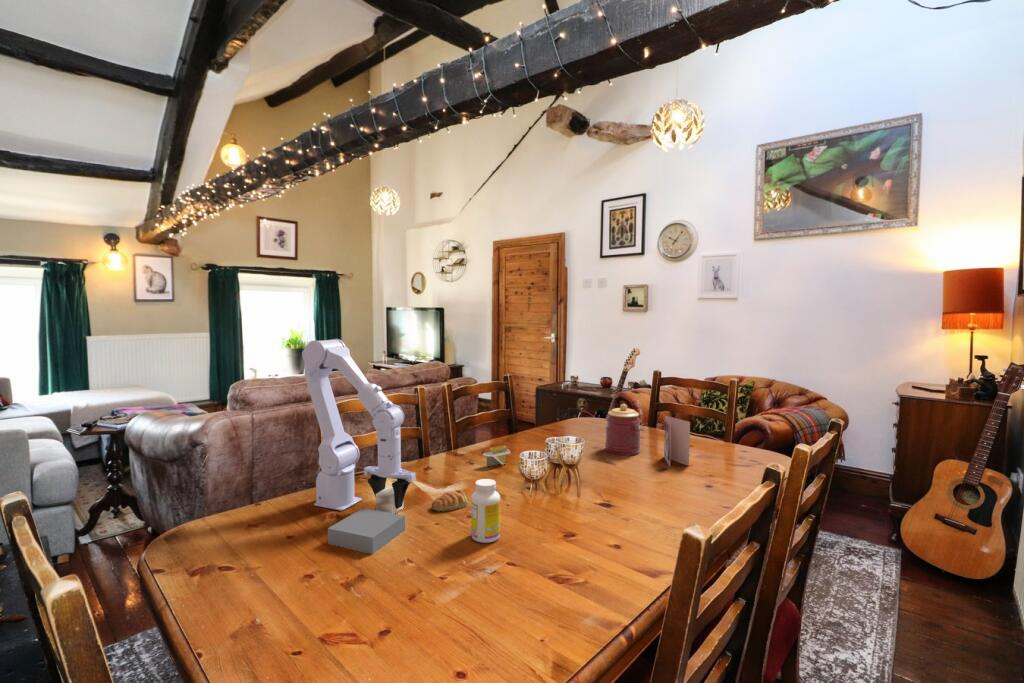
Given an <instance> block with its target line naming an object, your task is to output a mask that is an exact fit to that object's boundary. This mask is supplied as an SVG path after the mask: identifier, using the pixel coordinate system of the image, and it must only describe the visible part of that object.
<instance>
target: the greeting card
mask: <svg viewBox="0 0 1024 683" xmlns="http://www.w3.org/2000/svg"><path fill="white" fill-rule="evenodd" d="M662 421H663V423H664V424H663V425H664V439H663V440H664V441H663V442H664V446H663V447H664V448H663V450H664V451H663V458H664V460H665V461H666V463H667V464H668V467H671V460H672V461H675V462H677V463H680V464H682V465H685V466H688V467H689V466H690V443H691V442H690V441H691V436H690V435H691V422H690V421H688V420H684V419H680V418H677V417H672V416H669V415H665V416H664V420H662Z"/></svg>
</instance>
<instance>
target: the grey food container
mask: <svg viewBox="0 0 1024 683" xmlns="http://www.w3.org/2000/svg"><path fill="white" fill-rule="evenodd" d="M510 453H511V450H510V449H509V448H508V446H506V445H499V446H495V447H490V450H489V451H487V452H483V453H482V456H484V457H486V468H489V467H488V466H490V467H493V466H492V465H495V466H497V465H496V464H499V465H503V464H505V463H504V462H506V463H507V455H509V454H510Z"/></svg>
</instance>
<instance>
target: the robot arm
mask: <svg viewBox="0 0 1024 683" xmlns="http://www.w3.org/2000/svg"><path fill="white" fill-rule="evenodd" d="M301 355H302V359H303V363H304V378H305V381H306V385H307V389H308V392H309V395H310V399H311V401H312V405H313V408H314V412H315V415H316V419H317V422H318V426H319V429H320V432H321V436H322V438H323V439H322V441H321V443H320V444H319V446H318V448H317V450H318V454H319V455H318V457H319V458H318V463H319V465H318V466H319V467H320V469H321V470H320V472H319V473H318V474H317V476H316V481H315V490H316V491H315V492H316V499H315V500H316V502H315V503H314V506H316V507H321V508H326V509H331V510H337V511H340V512H341V511H344V510H346V509H348V508H350V507H352V506H353V505H356V504H358V502H359V503H360V501H362V500H363V499H362V498H363V497H357V496H355V495H356V494H355V468H356V463H358V461H359V459H360V457H361V456H360V455H361V453H360V449H359V447H358V445H356V443H355V442H354V439H353V436H351V435H349V434H348V433H347V432H345V429H344V426H343V423H342V419H341V416H340V411H339V409H338V406H337V402H336V399H335V396H334V393H333V390H332V388H333V387H332V385H331V381H330V379H329V376H330V375H331V373H332V370H333V369H335V370H338V371H339V372H340V373H341V374H342V376H344V377H345V379H346V380H348V382H349V383H350V384H351V385H352V386H353V387H354V389H356V391H357V399H358V400H359V402H360V403H361V404H362V406H363V407H364V408H365V409H366V411H367V412H368V413H369V415H370V416H371V417H372V418H373V419H372V421H371V422H372V425H373V428H374V429H375V431H376V437H377V466H375V465H374V466H371V465H369V466H366V467H363V476H367V477H369V476H370V478H368V479H367V483H368V484H369V487H370V488H371V489H372V491H373V494H374V497H375V499H376V493H378V492H380V491H382V490H383V489H385V488H386V483H387V479H393V480H396V481H394V482H391V488H393V490H394V495H395V507H396V508H397V509H398V508H400V507H401V506H402V504H403V500H404V499H405V496H406V492H407V490H408V488H409V486H410V484H411V483H413V482H416V480H417V478H416V477H417V474H416V472H412V471H410V470H407V469H404V468H402V460H401V459H402V452H401V451H402V450H401V448H402V445H401V442H402V441H401V438H402V437H401V436H402V435H401V425H403V424H404V423H405V422H404V421H405V416H406V415H405V412H404V411H403V410H404V409H403V408H402V407H401V406H400V405H398V404H394V403H393V402H392V401H391V400H389V398H388V397H387V396H386V395H385V393H384V392H383V391H382V390H383V388H382V387H381V386H380V385H377V384H376V383H370V382H369V380H368V379H367V377H366V376H365V375H364V373H363V372H362V370H361V369H360V368H359V367H358V365H357V363H356V362H355V360H354V359H353V358H352V356H351V353H350V349H349V348H348V347H347V346H346V344H345V342H344V341H343V340H341V339H339V338H332V339H326V340H325V339H324V340H323V339H322V340H311V341H309V342H307V344H306V345H305V347H304V348H303V351H302V352H301ZM404 501H405V500H404Z"/></svg>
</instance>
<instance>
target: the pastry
mask: <svg viewBox="0 0 1024 683" xmlns="http://www.w3.org/2000/svg"><path fill="white" fill-rule="evenodd" d="M468 504H469V501H468V498H467V496H466V493H465V492H464V491H463V490H462V489H455V490H454V491H452V490H451V491H447V492H444V493H443V494H442V495H440V496H439V497H437V498H436V499H434V500H433V501H432V503H431V509H432V510H434V511H436V512H440V511H442V512H448V511H447V510H451V511H455V510H458V509H457V508H459V509H462V508H465V507H467V505H468ZM464 506H465V507H464ZM461 507H462V508H461ZM454 509H455V510H454ZM444 510H445V511H444Z"/></svg>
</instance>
